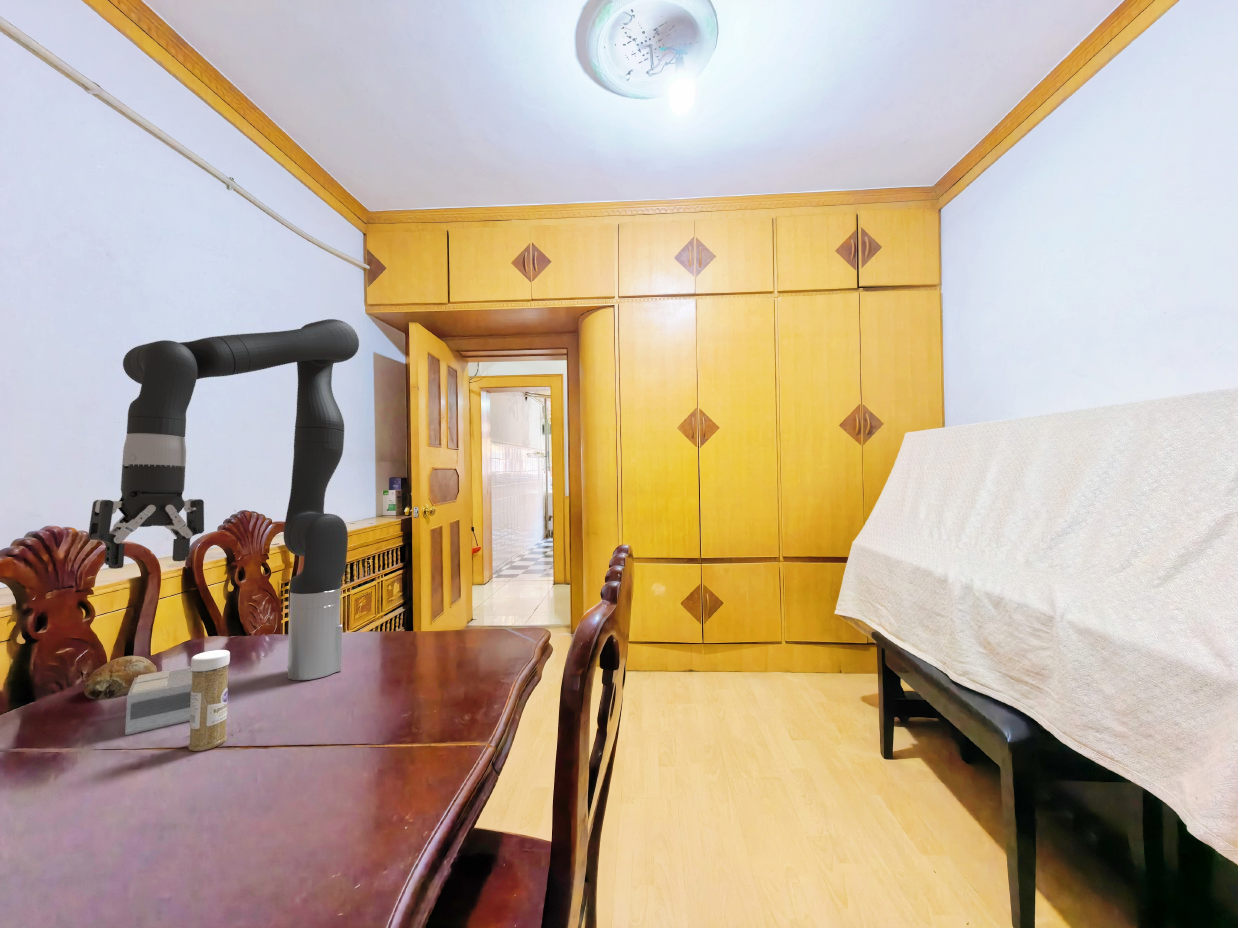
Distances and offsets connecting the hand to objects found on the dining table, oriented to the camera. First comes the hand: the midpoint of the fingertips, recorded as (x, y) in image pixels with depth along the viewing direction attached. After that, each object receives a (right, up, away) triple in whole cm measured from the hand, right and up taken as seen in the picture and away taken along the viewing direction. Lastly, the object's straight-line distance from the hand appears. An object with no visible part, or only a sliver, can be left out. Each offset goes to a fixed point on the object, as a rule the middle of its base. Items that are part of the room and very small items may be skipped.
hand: (148, 564), depth 80 cm
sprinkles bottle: (+14, -26, -5) cm, 30 cm away
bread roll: (-21, -28, +16) cm, 38 cm away
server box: (0, -27, +6) cm, 27 cm away
